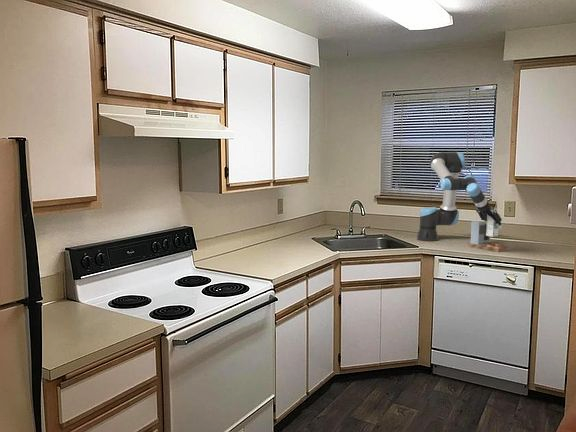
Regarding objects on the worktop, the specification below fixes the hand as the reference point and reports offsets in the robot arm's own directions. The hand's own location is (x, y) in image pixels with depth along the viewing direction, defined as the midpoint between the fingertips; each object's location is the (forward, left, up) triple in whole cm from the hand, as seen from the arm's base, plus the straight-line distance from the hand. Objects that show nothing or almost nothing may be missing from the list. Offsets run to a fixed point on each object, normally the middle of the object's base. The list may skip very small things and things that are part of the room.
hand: (496, 227), depth 330 cm
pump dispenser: (-21, +16, -16) cm, 31 cm away
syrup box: (0, -4, -6) cm, 7 cm away
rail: (-8, +4, -15) cm, 18 cm away
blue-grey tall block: (-16, +4, -13) cm, 21 cm away
